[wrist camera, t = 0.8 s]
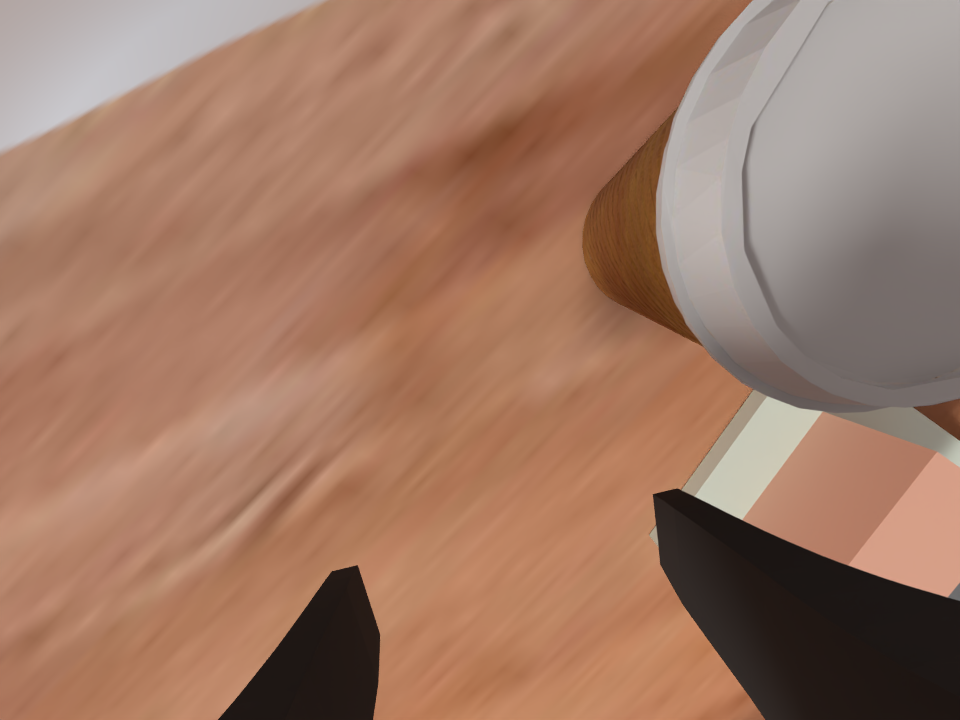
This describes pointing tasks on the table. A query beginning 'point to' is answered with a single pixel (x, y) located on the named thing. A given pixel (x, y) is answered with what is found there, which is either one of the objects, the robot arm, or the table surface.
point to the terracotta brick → (868, 504)
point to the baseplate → (788, 448)
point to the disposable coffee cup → (805, 206)
